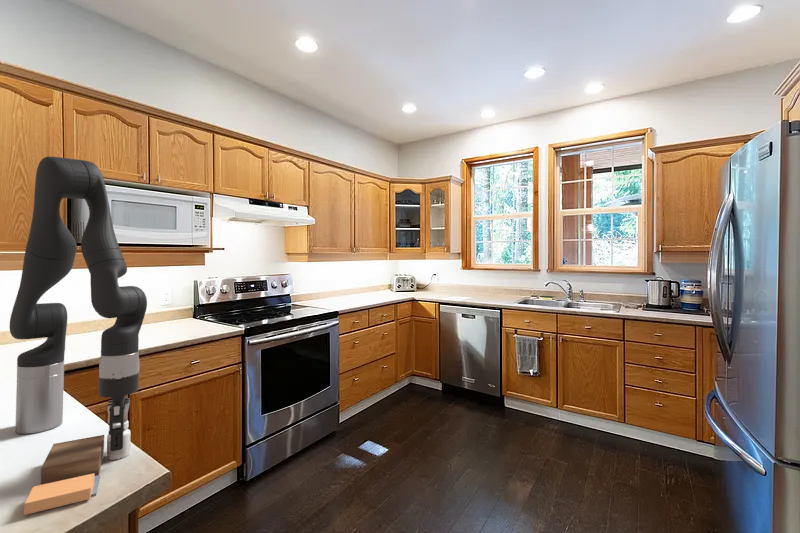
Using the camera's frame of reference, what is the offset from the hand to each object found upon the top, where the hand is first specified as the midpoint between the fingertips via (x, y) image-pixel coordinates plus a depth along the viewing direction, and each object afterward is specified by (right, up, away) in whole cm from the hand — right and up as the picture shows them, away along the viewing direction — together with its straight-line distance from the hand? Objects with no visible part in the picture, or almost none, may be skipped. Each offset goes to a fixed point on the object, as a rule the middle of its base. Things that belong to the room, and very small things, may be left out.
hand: (118, 442), depth 88 cm
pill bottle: (0, -4, +1) cm, 4 cm away
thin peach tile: (+2, -1, -16) cm, 16 cm away
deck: (-5, -3, -5) cm, 8 cm away
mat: (+1, -3, -14) cm, 14 cm away
